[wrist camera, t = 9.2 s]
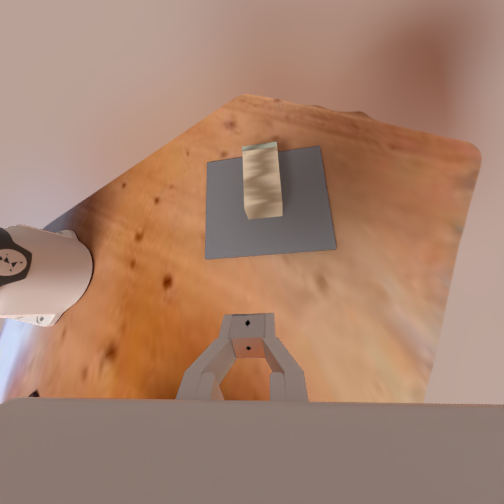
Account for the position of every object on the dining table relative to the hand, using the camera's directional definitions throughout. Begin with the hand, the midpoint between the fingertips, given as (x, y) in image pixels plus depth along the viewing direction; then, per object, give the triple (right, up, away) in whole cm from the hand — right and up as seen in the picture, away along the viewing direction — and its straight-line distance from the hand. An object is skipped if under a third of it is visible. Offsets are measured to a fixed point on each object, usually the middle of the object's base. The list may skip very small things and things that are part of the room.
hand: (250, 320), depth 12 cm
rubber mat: (+2, +13, +24) cm, 27 cm away
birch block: (+2, +11, +20) cm, 23 cm away
